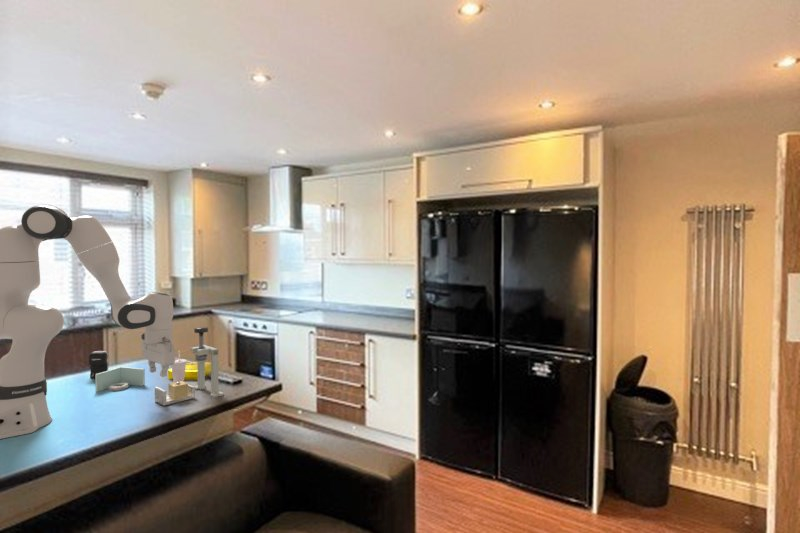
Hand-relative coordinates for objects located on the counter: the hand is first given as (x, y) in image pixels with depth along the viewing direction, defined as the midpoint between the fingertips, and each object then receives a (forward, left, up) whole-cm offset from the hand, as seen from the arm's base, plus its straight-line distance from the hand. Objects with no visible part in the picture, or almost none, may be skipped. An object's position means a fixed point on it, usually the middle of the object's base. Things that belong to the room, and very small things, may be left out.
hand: (158, 374), depth 163 cm
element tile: (+26, +29, -12) cm, 40 cm away
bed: (+6, 0, -11) cm, 13 cm away
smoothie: (+16, +19, -11) cm, 27 cm away
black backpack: (-3, +54, -11) cm, 56 cm away
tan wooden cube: (+7, 0, -10) cm, 12 cm away
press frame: (+16, 0, -11) cm, 20 cm away
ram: (+16, 0, +2) cm, 17 cm away
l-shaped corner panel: (-2, +31, -12) cm, 33 cm away
